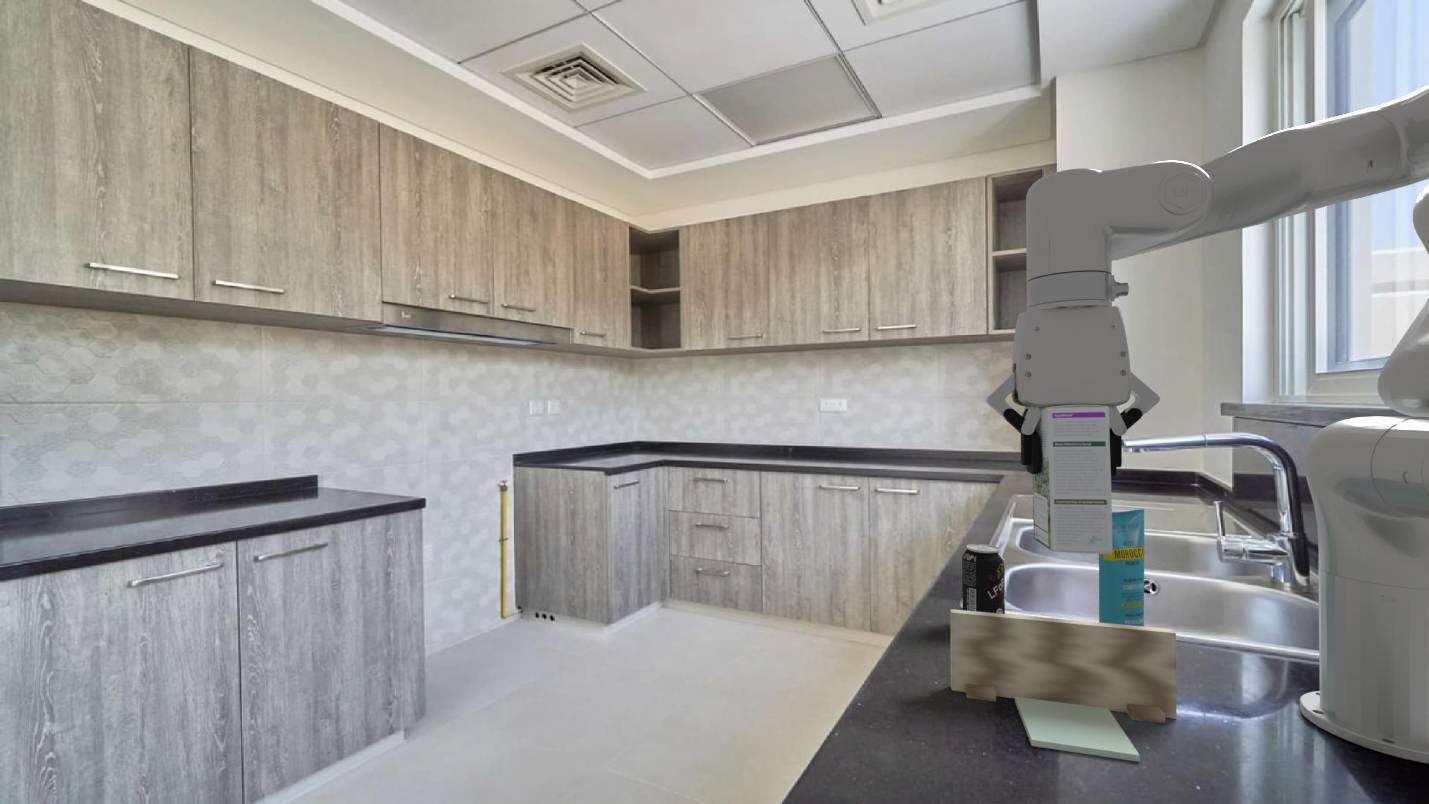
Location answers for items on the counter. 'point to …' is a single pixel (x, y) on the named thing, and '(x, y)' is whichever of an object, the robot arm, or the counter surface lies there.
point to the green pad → (1074, 729)
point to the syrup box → (1074, 480)
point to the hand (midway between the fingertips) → (1069, 472)
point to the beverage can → (983, 579)
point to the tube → (1123, 571)
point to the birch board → (1065, 662)
